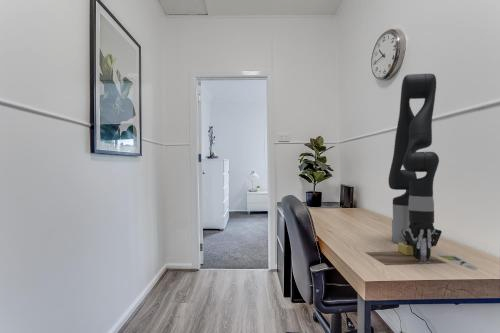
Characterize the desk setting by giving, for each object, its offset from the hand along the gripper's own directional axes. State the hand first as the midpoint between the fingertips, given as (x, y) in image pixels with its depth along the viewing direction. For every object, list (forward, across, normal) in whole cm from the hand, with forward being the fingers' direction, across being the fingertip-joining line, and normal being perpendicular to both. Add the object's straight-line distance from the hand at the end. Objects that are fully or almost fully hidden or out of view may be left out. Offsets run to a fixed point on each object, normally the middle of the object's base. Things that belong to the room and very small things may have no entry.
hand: (421, 258), depth 93 cm
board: (+2, +4, -4) cm, 6 cm away
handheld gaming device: (+3, -14, -2) cm, 14 cm away
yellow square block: (+1, -1, -8) cm, 8 cm away
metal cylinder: (+2, 0, 0) cm, 2 cm away
